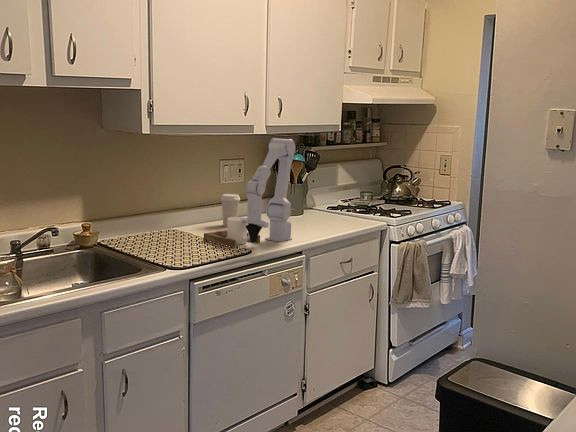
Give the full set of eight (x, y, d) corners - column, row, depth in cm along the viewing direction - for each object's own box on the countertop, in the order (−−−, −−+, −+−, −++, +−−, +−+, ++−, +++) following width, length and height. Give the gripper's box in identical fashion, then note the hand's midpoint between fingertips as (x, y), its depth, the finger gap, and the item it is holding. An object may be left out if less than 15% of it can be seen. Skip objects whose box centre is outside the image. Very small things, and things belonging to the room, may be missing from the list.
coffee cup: (216, 224, 284) (216, 194, 282) (233, 223, 290) (233, 193, 287) (226, 228, 277) (227, 196, 274) (243, 226, 283) (244, 195, 280)
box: (231, 235, 261) (231, 228, 261) (260, 242, 250) (260, 235, 249) (203, 240, 249) (203, 233, 249) (232, 247, 238) (232, 240, 237)
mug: (257, 244, 246) (257, 220, 244) (243, 247, 239) (244, 222, 238) (236, 239, 253) (237, 216, 251) (223, 242, 247) (223, 218, 245)
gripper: (235, 208, 240) (234, 240, 243) (260, 213, 231) (259, 246, 233) (247, 206, 245) (246, 238, 248) (272, 211, 236) (271, 244, 238)
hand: (253, 242), depth 241 cm, fingers closed
